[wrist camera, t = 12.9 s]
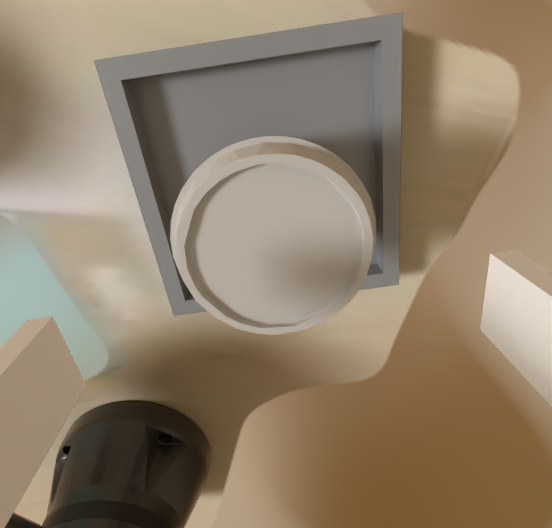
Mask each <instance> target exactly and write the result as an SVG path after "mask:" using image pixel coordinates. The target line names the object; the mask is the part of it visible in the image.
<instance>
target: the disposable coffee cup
mask: <svg viewBox="0 0 552 528" xmlns="http://www.w3.org/2000/svg"><path fill="white" fill-rule="evenodd" d="M170 241H171V247H172V253H173V258H174V260H175V263H176V265H177V268H178V270H179V272H180V275H181V277H182V279H183V281H184V283H185V285H186V286H187V288H188V289H189V291H190V292H191V294H192V296H193V297H194V299H195V300H196V301H197V302H198V303H199V304H200V305H201V306H202V307H203V308H204V309H206V310H207V311H208V312H209V313H210V314H211V315H212V316H214V317H215V318H216V319H218V320H220V321H222V322H224V323H226V324H228V325H230V326H232V327H234V328H237V329H239V330H243V331H248V332H252V333H256V334H268V335H279V334H286V333H292V332H298V331H303V330H306V329H309V328H311V327H313V326H316V325H318V324H321V323H323V322H324V321H326V320H327V319H329V318H331V317H332V316H334V315H336V314H337V313H338V312H339V311H340V310H341V309H343V308H344V307H345V306H346V305H347V304H348V303H349V302H350V301H351V299H352V298H353V297H354V296H355V295H356V293H357V292H358V290H359V288H360V287H361V285H362V283H363V282H364V280H365V278H366V276H367V273H368V269H369V266H370V263H371V259H372V256H373V252H374V247H375V242H376V218H375V214H374V210H373V206H372V202H371V199H370V197H369V195H368V193H367V190H366V188H365V186H364V184H363V183H362V181H361V180H360V179H359V177H358V176H357V175H356V173H355V172H354V171H353V170H352V168H351V167H350V166H349V165H347V164H346V163H345V162H344V161H343V160H341V159H340V158H339V157H338V156H337V155H335V154H334V153H332V152H330V151H329V150H327V149H325V148H323V147H321V146H319V145H317V144H314V143H311V142H308V141H306V140H303V139H299V138H293V137H286V136H264V137H257V138H251V139H247V140H244V141H240V142H237V143H234V144H232V145H229V146H227V147H225V148H223V149H222V150H220V151H219V152H217V153H215V154H214V155H212V156H211V157H209V158H208V159H207V160H206V161H205V162H204V163H202V164H201V165H200V166H199V167H198V168H197V169H196V170H195V171H194V172H193V173H192V175H191V176H190V178H189V179H188V181H187V182H186V184H185V185H184V186H183V188H182V189H181V191H180V194H179V196H178V198H177V201H176V203H175V206H174V210H173V214H172V218H171V230H170Z"/></svg>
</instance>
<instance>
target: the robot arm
mask: <svg viewBox="0 0 552 528" xmlns="http://www.w3.org/2000/svg"><path fill="white" fill-rule="evenodd" d="M480 330H481V331H482V332H483V333H484V334H485V335H486V336H487V337H488V338H489V339H490V341H491V342H492V343H494V345H495V346H496V347H497V348H498V349H499V350H500V351H501V352H502V353H503V354H504V356H505V357H506V358H507V359H508V360H509V361H510V362H511V363H512V364H513V365H514V366H515V367H516V369H517V370H518V371H519V372H520V373H521V374H522V375H523V376H524V377H525V378H526V379H527V380H528V382H530V384H532V386H533V387H534V388H535V389H536V390H537V391H538V392H539V393H540V394H541V395H542V397H543V398H544V399H545V400H546V401H547V402H548V403H549V404H550V405H551V406H552V272H551V271H550V270H548V269H547V268H545V267H543V266H542V265H540V264H539V263H537V262H535V261H534V260H532V259H530V258H529V257H527V256H526V255H524V254H523V253H521V252H519V251H518V250H510V251H504V252H497V253H491V254H490V260H489V267H488V275H487V282H486V290H485V298H484V305H483V313H482V320H481V328H480ZM85 386H86V384H85V382H84V380H83V378H82V376H81V374H80V372H79V370H78V368H77V366H76V364H75V362H74V359H73V357H72V355H71V353H70V351H69V349H68V347H67V345H66V343H65V341H64V339H63V337H62V335H61V333H60V331H59V329H58V326H57V324H56V322H55V320H54V318H53V317H47V318H40V319H33V320H28V321H26V323H25V324H24V325H23V326H22V327H21V328H20V329H19V330H18V331H17V332H16V333H15V334H14V335H13V336H12V337H11V338H10V339H9V340H8V341H7V342H6V343H5V344H4V345H3V346H2V347H1V348H0V528H184V527H185V525H186V523H187V521H188V519H189V517H190V515H191V513H192V511H193V508H194V506H195V504H196V502H197V500H198V498H199V496H200V494H201V492H202V490H203V488H204V485H205V483H206V479H207V475H208V469H209V461H210V448H209V444H208V441H207V439H206V437H205V435H204V434H203V432H202V431H201V430H200V429H199V428H198V427H197V426H196V425H195V424H194V423H193V422H192V421H191V420H189V419H188V418H186V417H185V416H183V415H182V414H180V413H178V412H176V411H174V410H171V409H169V408H166V407H163V406H159V405H155V404H151V403H144V402H117V403H111V404H106V405H103V406H99V407H97V408H94V409H92V410H90V411H88V412H86V413H85V414H83V415H82V416H81V417H79V418H78V419H77V420H76V421H75V422H74V423H73V425H72V426H71V428H70V429H69V431H68V433H67V435H66V437H65V438H64V440H63V442H62V444H61V446H60V448H59V451H58V454H57V458H56V464H55V469H54V475H53V481H52V487H51V493H50V499H49V505H48V511H47V515H46V518H45V520H44V522H43V524H42V526H40V525H39V524H37V523H35V522H33V521H31V520H29V519H27V518H24V517H22V516H20V515H18V514H16V513H14V511H15V509H16V507H17V505H18V504H19V502H20V500H21V498H22V497H23V495H24V493H25V491H26V490H27V488H28V486H29V484H30V483H31V481H32V479H33V477H34V476H35V474H36V472H37V470H38V469H39V467H40V465H41V463H42V462H43V460H44V458H45V456H46V455H47V453H48V451H49V449H50V448H51V446H52V444H53V442H54V441H55V439H56V437H57V435H58V434H59V432H60V430H61V428H62V427H63V425H64V423H65V421H66V420H67V418H68V416H69V414H70V413H71V411H72V409H73V407H74V406H75V404H76V402H77V400H78V399H79V397H80V395H81V393H82V392H83V390H84V388H85Z"/></svg>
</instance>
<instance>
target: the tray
mask: <svg viewBox="0 0 552 528" xmlns="http://www.w3.org/2000/svg"><path fill="white" fill-rule="evenodd" d="M402 27H403V12H401V13H394V14H388V15H381V16H375V17H369V18H362V19H356V20H349V21H343V22H337V23H330V24H324V25H318V26H311V27H305V28H298V29H292V30H286V31H279V32H273V33H266V34H260V35H254V36H247V37H241V38H234V39H228V40H222V41H215V42H209V43H202V44H196V45H190V46H183V47H177V48H170V49H164V50H158V51H151V52H145V53H138V54H132V55H126V56H119V57H113V58H106V59H100V60H94V62H95V66H96V69H97V72H98V75H99V78H100V82H101V85H102V88H103V91H104V94H105V97H106V101H107V104H108V107H109V110H110V113H111V117H112V120H113V123H114V126H115V129H116V133H117V136H118V139H119V142H120V145H121V149H122V152H123V155H124V158H125V161H126V164H127V168H128V171H129V174H130V177H131V180H132V184H133V187H134V190H135V193H136V196H137V200H138V203H139V206H140V209H141V212H142V216H143V219H144V222H145V225H146V228H147V231H148V235H149V238H150V241H151V244H152V247H153V251H154V254H155V257H156V260H157V263H158V267H159V270H160V273H161V276H162V279H163V282H164V286H165V289H166V292H167V295H168V298H169V302H170V305H171V308H172V311H173V314H174V316H176V315H183V314H190V313H198V312H205V311H207V310H206V309H204V308H203V307H202V306H201V305H200V304H199V303H198V302H197V301H196V300H195V299H194V297H193V296H192V294H191V292H190V291H189V289H188V288H187V286H186V285H185V283H184V281H183V279H182V277H181V275H180V272H179V270H178V268H177V265H176V263H175V260H174V258H173V253H172V247H171V241H170V230H171V218H172V214H173V210H174V206H175V203H176V201H177V198H178V196H179V194H180V191H181V189H182V188H183V186H184V185H185V184H186V182H187V181H188V179H189V178H190V176H191V175H192V173H193V172H194V171H195V170H196V169H197V168H198V167H199V166H200V165H201V164H202V163H204V162H205V161H206V160H207V159H208V158H209V157H211V156H212V155H214V154H215V153H217V152H219V151H220V150H222V149H223V148H225V147H227V146H229V145H232V144H234V143H237V142H240V141H244V140H247V139H251V138H257V137H264V136H286V137H293V138H299V139H303V140H306V141H308V142H311V143H314V144H317V145H319V146H321V147H323V148H325V149H327V150H329V151H330V152H332V153H334V154H335V155H337V156H338V157H339V158H340V159H341V160H343V161H344V162H345V163H346V164H347V165H349V166H350V167H351V168H352V170H353V171H354V172H355V173H356V175H357V176H358V177H359V179H360V180H361V181H362V183H363V184H364V186H365V188H366V190H367V193H368V195H369V197H370V199H371V202H372V206H373V210H374V214H375V218H376V242H375V247H374V252H373V256H372V259H371V263H370V266H369V269H368V273H367V276H366V278H365V280H364V282H363V283H362V285H361V287H360V288H359V290H363V289H370V288H377V287H385V286H392V285H399V243H400V171H401V99H402Z"/></svg>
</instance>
